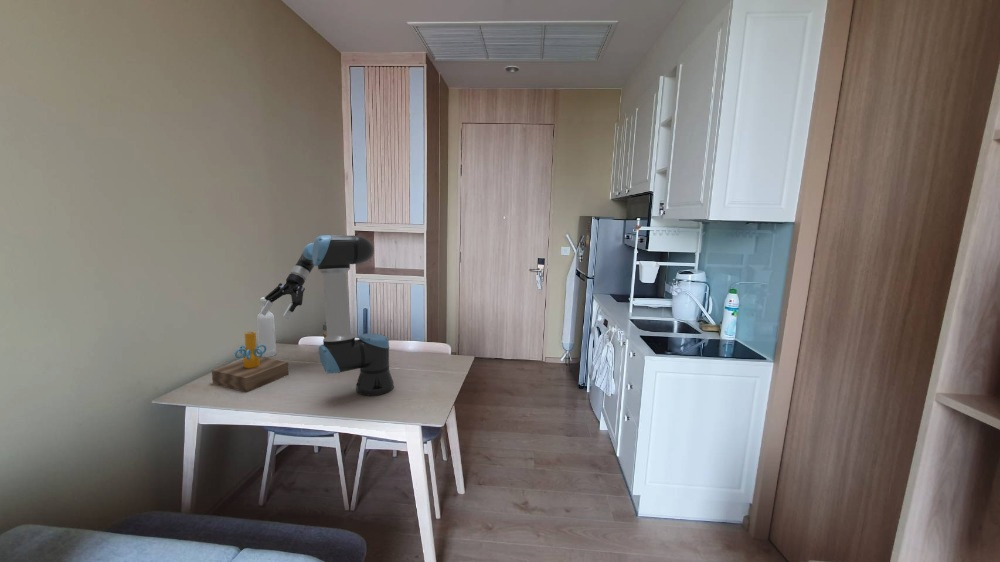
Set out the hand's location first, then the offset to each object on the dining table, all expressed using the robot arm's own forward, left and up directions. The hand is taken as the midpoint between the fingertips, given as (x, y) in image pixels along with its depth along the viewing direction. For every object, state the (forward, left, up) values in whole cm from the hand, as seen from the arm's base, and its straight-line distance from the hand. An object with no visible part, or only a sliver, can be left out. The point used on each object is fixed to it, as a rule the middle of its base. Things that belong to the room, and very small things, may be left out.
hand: (273, 315), depth 178 cm
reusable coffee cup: (-3, -35, -26) cm, 44 cm away
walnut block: (+1, +11, -26) cm, 28 cm away
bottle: (+22, -14, -26) cm, 37 cm away
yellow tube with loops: (+1, +11, -20) cm, 23 cm away
